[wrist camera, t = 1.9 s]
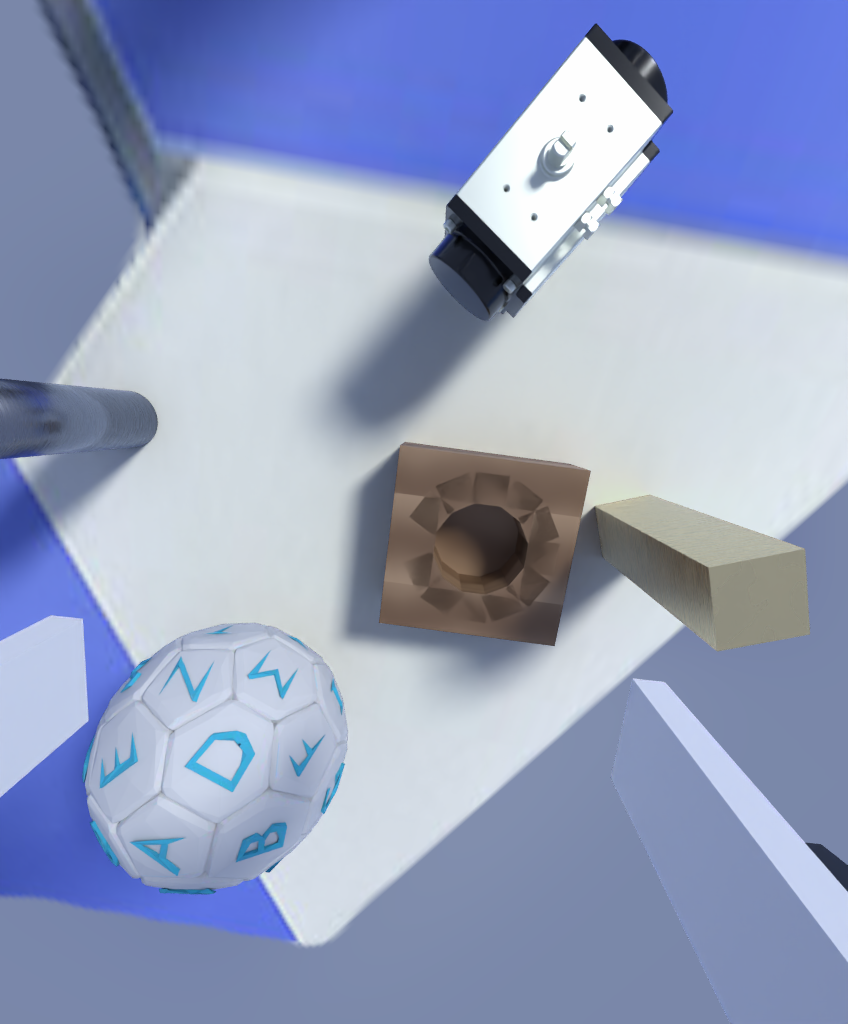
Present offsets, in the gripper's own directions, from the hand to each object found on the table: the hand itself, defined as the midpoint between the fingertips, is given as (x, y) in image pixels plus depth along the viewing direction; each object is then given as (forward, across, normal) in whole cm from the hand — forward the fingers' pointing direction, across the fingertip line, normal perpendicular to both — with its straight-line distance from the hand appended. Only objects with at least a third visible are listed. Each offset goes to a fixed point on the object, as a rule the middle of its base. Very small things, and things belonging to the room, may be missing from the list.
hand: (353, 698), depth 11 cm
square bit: (+23, +16, 0) cm, 28 cm away
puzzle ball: (+23, -10, -15) cm, 29 cm away
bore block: (+23, +5, -1) cm, 24 cm away
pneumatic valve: (+23, +6, +18) cm, 30 cm away
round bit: (+23, -21, +4) cm, 31 cm away
